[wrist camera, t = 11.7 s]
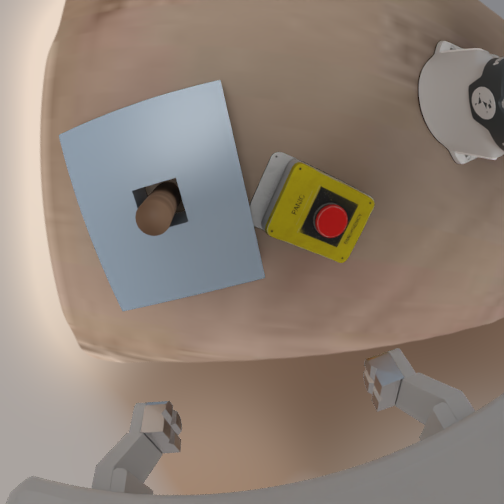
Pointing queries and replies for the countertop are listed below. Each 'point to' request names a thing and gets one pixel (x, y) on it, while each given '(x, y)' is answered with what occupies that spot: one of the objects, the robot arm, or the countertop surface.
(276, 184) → the emergency button
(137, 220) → the peg
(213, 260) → the socket block
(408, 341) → the countertop surface
